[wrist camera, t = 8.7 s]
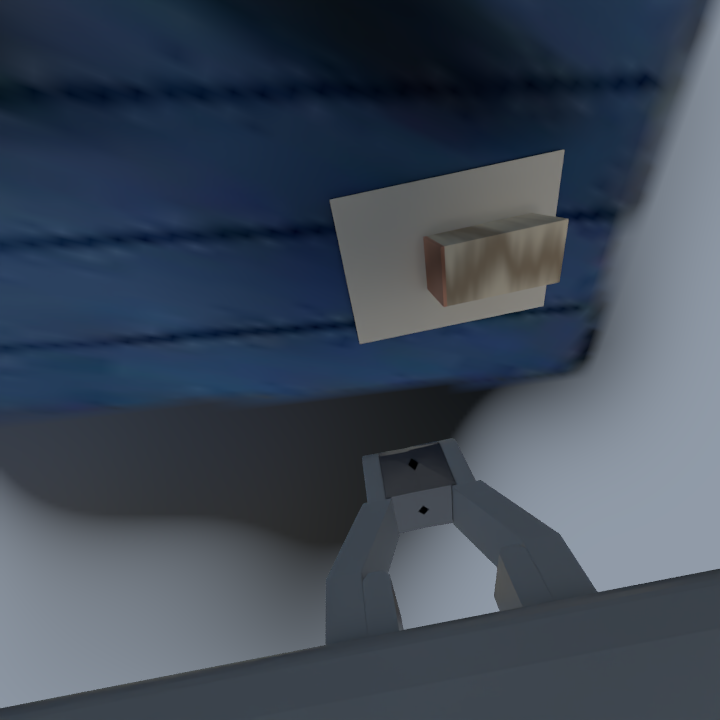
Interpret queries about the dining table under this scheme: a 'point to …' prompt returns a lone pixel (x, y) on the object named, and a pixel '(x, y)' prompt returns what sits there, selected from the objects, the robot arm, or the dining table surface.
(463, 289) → the birch block
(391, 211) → the sand mat
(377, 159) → the dining table surface
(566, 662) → the robot arm
